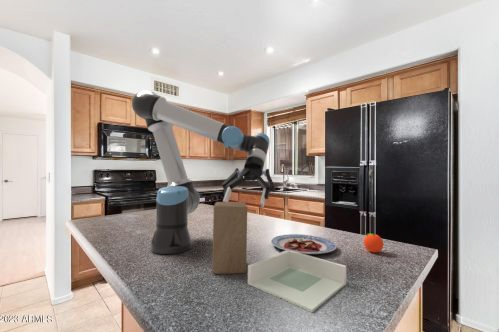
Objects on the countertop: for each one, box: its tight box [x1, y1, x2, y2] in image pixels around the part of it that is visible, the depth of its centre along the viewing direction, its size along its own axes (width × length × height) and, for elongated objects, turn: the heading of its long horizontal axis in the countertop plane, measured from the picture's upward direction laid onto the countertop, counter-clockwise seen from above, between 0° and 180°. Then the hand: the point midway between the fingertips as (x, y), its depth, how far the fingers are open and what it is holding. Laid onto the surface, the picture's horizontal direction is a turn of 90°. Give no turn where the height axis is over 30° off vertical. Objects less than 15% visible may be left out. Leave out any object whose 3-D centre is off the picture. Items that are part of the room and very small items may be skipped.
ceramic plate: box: [270, 233, 338, 255], centre depth 101 cm, size 26×26×3 cm
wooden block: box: [211, 201, 248, 275], centre depth 79 cm, size 10×10×20 cm
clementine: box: [361, 233, 384, 254], centre depth 98 cm, size 8×7×7 cm
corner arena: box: [247, 250, 347, 313], centre depth 68 cm, size 19×19×5 cm
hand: (242, 204), depth 87 cm, fingers open, 13 cm apart
